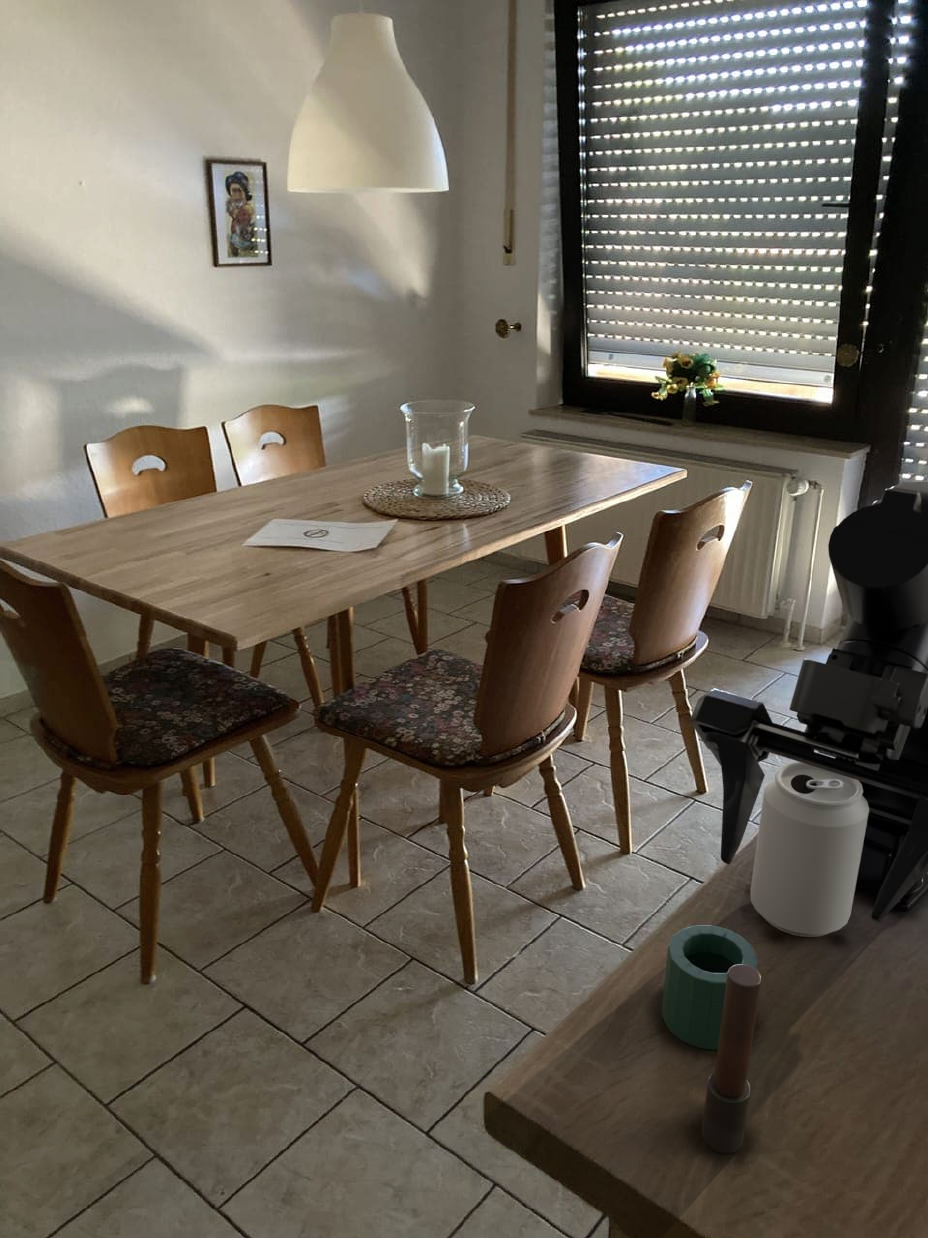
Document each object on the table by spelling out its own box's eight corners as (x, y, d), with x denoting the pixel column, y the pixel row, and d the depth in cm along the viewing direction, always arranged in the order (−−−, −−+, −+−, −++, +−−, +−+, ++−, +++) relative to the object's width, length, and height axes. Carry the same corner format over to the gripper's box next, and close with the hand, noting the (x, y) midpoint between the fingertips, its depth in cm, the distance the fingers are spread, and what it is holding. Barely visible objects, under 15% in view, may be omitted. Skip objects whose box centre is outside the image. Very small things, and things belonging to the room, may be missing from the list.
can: (756, 874, 85) (773, 746, 81) (851, 897, 82) (875, 765, 78) (741, 929, 79) (759, 793, 74) (845, 955, 76) (870, 815, 71)
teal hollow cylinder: (692, 977, 74) (700, 913, 72) (764, 1019, 70) (773, 953, 68) (645, 1017, 70) (651, 952, 68) (717, 1064, 66) (726, 996, 64)
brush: (715, 1113, 63) (737, 954, 58) (750, 1137, 61) (775, 975, 56) (693, 1136, 61) (713, 974, 56) (728, 1161, 59) (752, 997, 55)
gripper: (717, 571, 65) (619, 796, 60) (1047, 643, 54) (957, 921, 50) (752, 647, 73) (668, 849, 69) (1042, 722, 63) (965, 964, 59)
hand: (796, 890), depth 62 cm, fingers open, 9 cm apart
